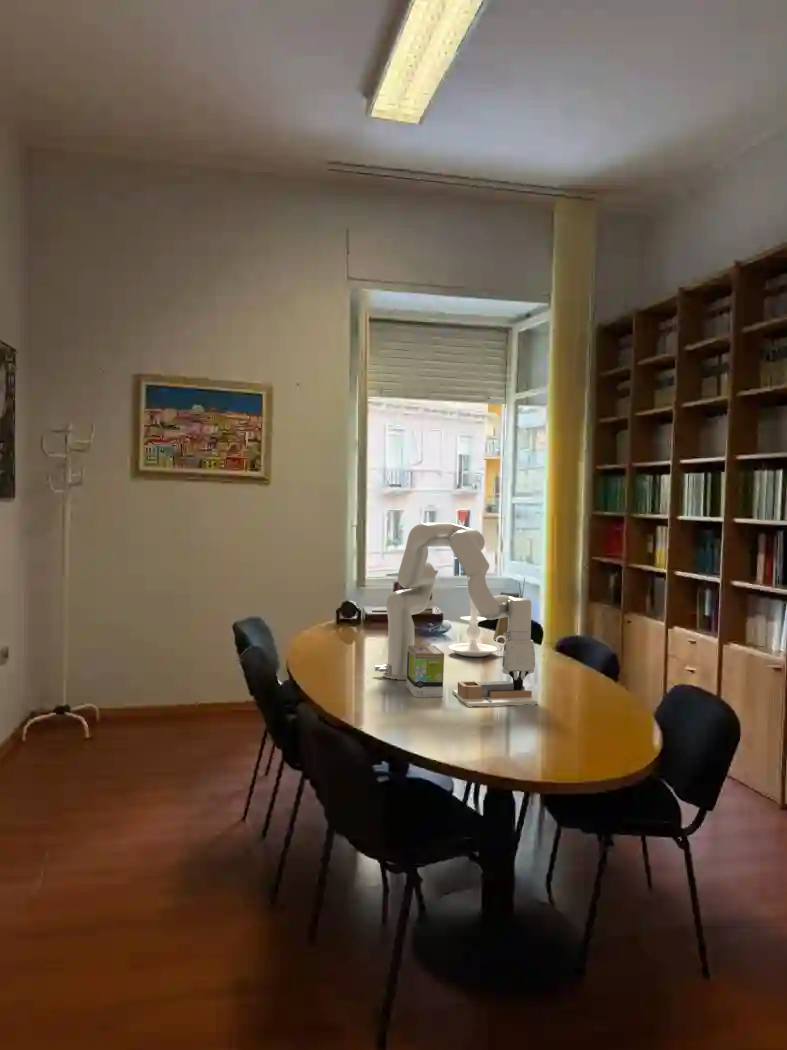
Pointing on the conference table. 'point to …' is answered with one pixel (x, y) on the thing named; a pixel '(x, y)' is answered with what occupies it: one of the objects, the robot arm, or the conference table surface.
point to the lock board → (491, 696)
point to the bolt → (495, 686)
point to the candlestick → (474, 637)
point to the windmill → (505, 618)
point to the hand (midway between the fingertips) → (517, 690)
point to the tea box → (425, 671)
